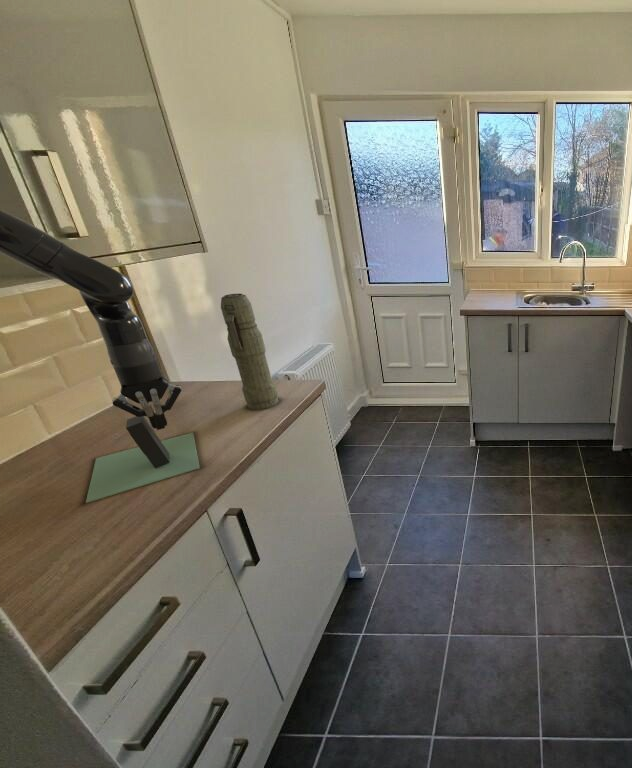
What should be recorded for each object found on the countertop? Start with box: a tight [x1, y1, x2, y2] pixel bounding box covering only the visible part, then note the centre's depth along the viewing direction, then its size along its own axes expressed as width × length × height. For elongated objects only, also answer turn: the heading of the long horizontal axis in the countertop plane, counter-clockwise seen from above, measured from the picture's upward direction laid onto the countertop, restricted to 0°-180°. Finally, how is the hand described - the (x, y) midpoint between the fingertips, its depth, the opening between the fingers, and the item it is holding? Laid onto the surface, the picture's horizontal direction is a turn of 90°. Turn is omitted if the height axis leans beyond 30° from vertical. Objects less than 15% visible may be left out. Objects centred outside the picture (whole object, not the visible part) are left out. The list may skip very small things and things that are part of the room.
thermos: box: [220, 293, 280, 411], centre depth 125 cm, size 9×12×35 cm
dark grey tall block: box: [125, 416, 170, 468], centre depth 99 cm, size 3×5×12 cm, turn 38°
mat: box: [85, 432, 201, 504], centre depth 102 cm, size 20×22×1 cm
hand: (161, 428), depth 100 cm, fingers closed
